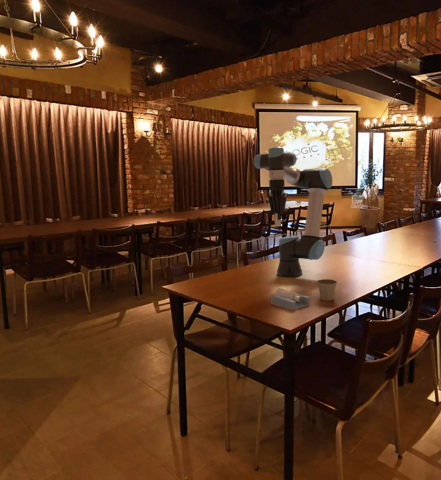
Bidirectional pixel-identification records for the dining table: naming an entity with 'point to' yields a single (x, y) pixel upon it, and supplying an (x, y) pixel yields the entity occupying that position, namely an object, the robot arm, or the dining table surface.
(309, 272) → the dining table surface
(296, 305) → the cradle
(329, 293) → the flower pot
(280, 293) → the bottle
